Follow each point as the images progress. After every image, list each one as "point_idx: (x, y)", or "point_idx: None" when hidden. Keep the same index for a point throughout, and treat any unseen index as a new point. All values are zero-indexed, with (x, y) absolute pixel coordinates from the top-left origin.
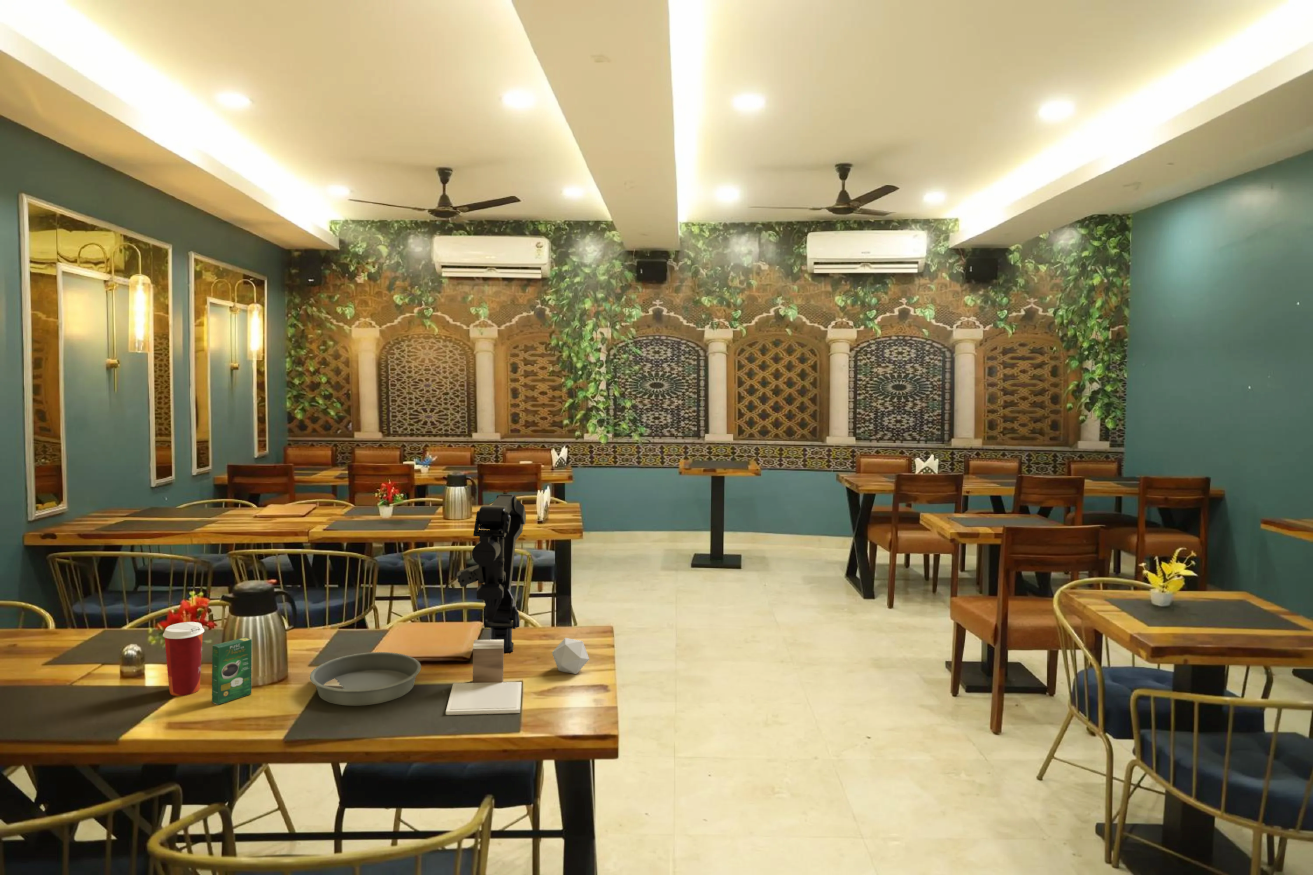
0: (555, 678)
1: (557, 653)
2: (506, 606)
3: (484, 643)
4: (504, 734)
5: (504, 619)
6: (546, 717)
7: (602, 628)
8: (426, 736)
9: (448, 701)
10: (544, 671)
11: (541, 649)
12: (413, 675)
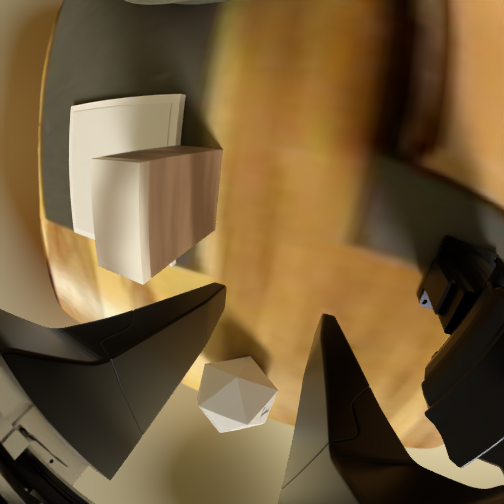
0: None
1: (218, 381)
2: (446, 409)
3: (106, 203)
4: (41, 198)
5: (438, 354)
6: (74, 262)
7: (432, 447)
8: (41, 96)
9: (98, 101)
10: (251, 332)
11: (400, 364)
12: (143, 1)
